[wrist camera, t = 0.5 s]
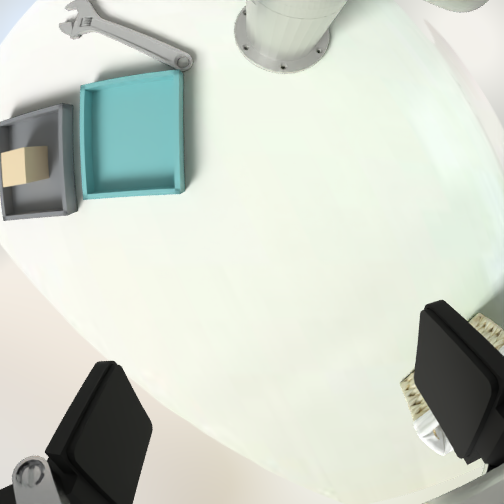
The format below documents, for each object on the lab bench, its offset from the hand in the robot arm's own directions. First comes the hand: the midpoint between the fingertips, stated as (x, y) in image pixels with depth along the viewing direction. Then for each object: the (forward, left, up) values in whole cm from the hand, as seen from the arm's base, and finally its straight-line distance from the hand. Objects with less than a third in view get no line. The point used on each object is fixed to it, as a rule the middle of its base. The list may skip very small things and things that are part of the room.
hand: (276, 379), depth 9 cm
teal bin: (-9, -16, -35) cm, 39 cm away
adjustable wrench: (-25, -19, -35) cm, 47 cm away
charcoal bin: (-7, -33, -35) cm, 48 cm away
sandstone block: (-7, -33, -34) cm, 48 cm away
